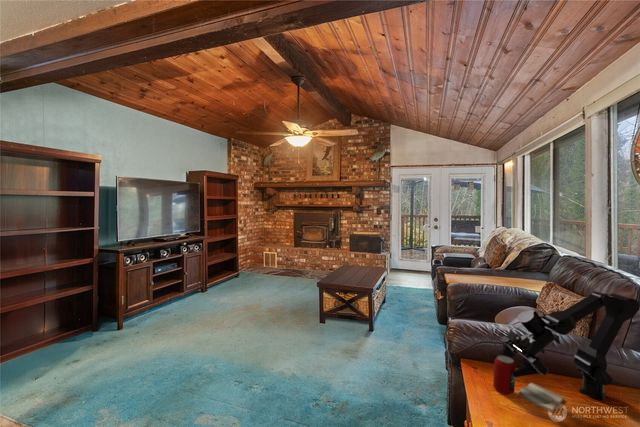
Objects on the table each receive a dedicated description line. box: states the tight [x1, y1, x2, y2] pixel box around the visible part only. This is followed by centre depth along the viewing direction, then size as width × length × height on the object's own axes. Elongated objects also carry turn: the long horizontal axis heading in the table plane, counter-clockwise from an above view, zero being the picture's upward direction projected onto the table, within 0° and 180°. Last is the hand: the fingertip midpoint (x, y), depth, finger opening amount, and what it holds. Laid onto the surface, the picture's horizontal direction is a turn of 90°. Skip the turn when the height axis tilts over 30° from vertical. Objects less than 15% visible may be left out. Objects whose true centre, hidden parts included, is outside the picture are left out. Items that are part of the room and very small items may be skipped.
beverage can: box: [492, 354, 517, 395], centre depth 109 cm, size 7×7×12 cm
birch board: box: [517, 382, 564, 413], centre depth 105 cm, size 12×10×1 cm
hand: (505, 368), depth 109 cm, fingers open, 9 cm apart
